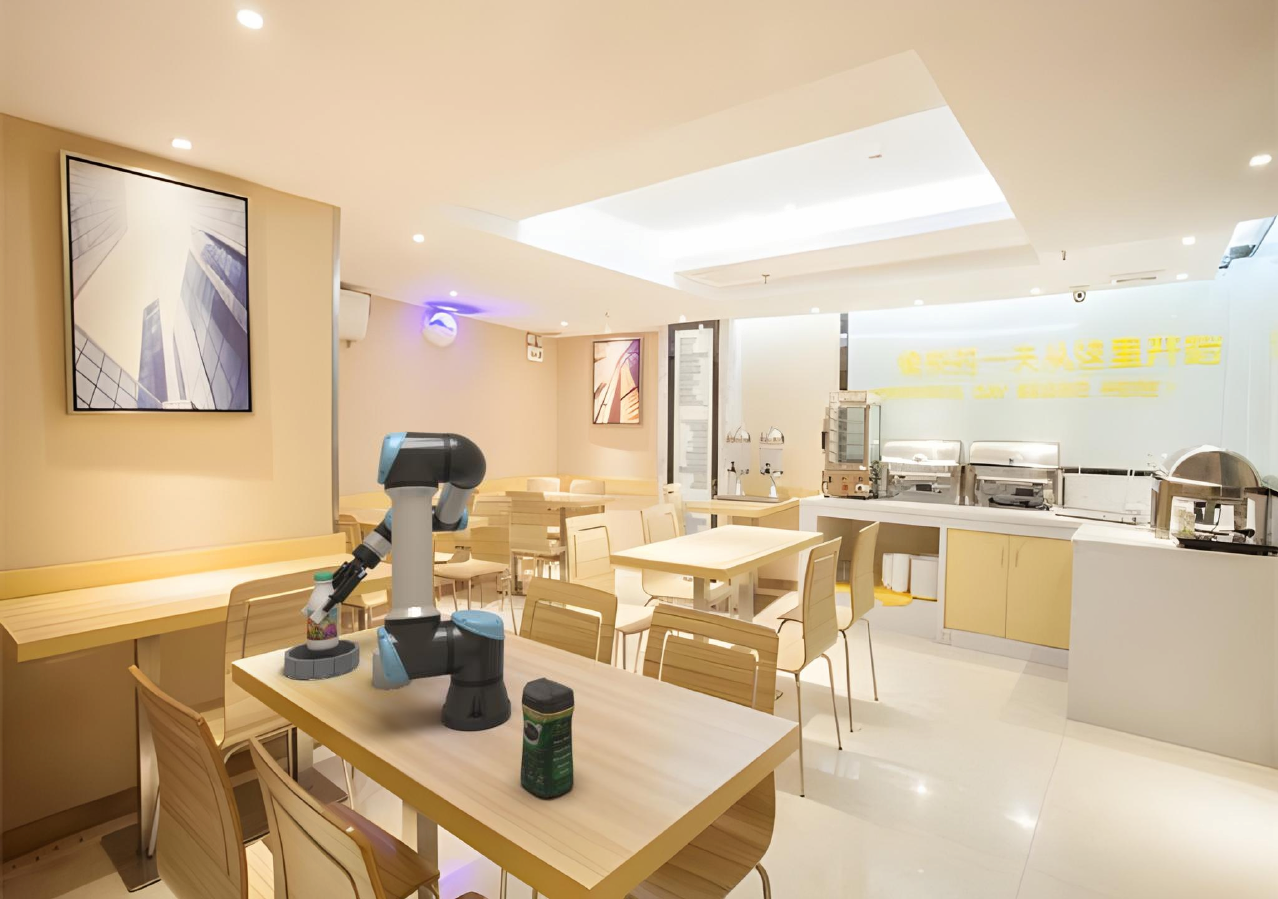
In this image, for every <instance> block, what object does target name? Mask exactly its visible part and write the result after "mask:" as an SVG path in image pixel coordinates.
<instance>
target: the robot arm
mask: <svg viewBox="0 0 1278 899" xmlns="http://www.w3.org/2000/svg"><path fill="white" fill-rule="evenodd" d="M379 457H380V458H379V462H378V463H379V464H378V470H377V471H378V472H377V478H376V480H377V481H376V482H377V484H379V485H383V487H384V488H383V492H384V494H386V496H388V497H389V499H391V507H390V508H389V509H388V510H387V511H386V513H385V514H384V518H383V519H382V521H380V522H379V524H378V525H377V526H376V527H375V528H374V529H373V530H372V531H370V532H369V534H368V535H366V536H365V538H364V539H363V540H362V543H360V544H358V546H356V548H355V549H354V550H353V551H352V552H351V555H352V556H353V557H354V559H352V560H351V561H350V562H348V561H346V560H345V561H344V562H343V563H342V564H341V566H339V568H337V570H336V571H334V573H333V581H332V586H333V589H334V591H335V592H334V593H333V595H329V596H328V597H329V598H327V599H326V600H325V601H324V603H323V604H322V605H321V606H320V607H319V608H318V609H317V610H316V611H315V612H314V613H313V614H312V615H311V616H310V617H309V618H311V619H312V620H313V621H315V622H316V623H317V624H319V622H320V621H321V620H322V619H323V618H324V617H325V616H326V615H327V614H328V613H329V612H330V611H331V610H332V609H333V607H334V606H335V605H336V603H337V604H338V603H339V604H343V603H344V602H345V601H346V599H347V598H348V597H349V596H350V595H351V594H352V592H353V591H354V590H355V589H356V588H357V586H358V585H359V584H360V583H361V582H362V580H364V579H365V578H366V577H367V576H368V573H367V571H366V570H367V568H368V569H370V570H374V569H375V568H376V567H377V566H378V565H379V564H380V563H381V561H382V558H383V559H384V558H385V557H386V555H388V554H391V610H390V611H389V612H388V613H387V614H386V615H385V617H384V621H383V622H384V625H380V626H379V627H377V629H376V635H377V644H378V647H379V653H380V659H381V665H382V671H383V675H384V677H385V679H386V680H388V681H390V682H397V681H407V682H408V681H409V680H412V681H413V680H421V679H428V678H435V677H441V676H449V675H450V682H449V688H448V690H447V694H446V697H445V702H444V703H443V705H442V708H441V722H442V723H443V724H444V725H445V726H446V727H448V728H450V729H454V730H459V731H478V730H486V729H491V728H493V727H495V726H496V727H497V726H498V725H501V724H503V723H505V722H506V721H507V720H508V719H510V716H511V714H512V703H511V700H510V698H509V695H508V691H507V687H506V683H505V681H504V668H505V666H504V665H505V664H504V663H505V661H504V660H505V658H504V655H505V654H504V653H505V639H506V636H505V626H504V620H503V618H501V616H500V615H498V614H496V613H493V612H490V611H484V610H479V609H478V610H477V609H461V610H456V611H454V612H452V613H451V615H450V619H449V620H441V611H440V610H438V609H437V608H436V606H435V605H434V570H433V568H434V566H433V565H434V564H433V560H434V559H433V557H434V556H433V553H434V552H433V533H444V532H445V533H447V532H450V533H451V532H453V533H455V532H460V531H465V530H466V529H467V528H468V522H469V512H468V511H469V510H468V507H467V506H468V503H469V501H470V499H471V497H472V494H473V492H474V490H475V488H478V487H479V485H481V484H482V482H483V481H484V478H485V476H486V472H487V461H486V458H485V455H484V453H483V451H482V449H480V447H479V446H478V444H476V443H475V442H474V441H472V440H471V439H470V438H468V437H466V436H463V435H461V434H458V433H455V432H454V433H453V432H452V433H451V432H450V433H449V432H447V433H445V432H443V433H442V432H423V431H422V432H419V431H403V432H402V431H401V432H399V431H398V432H389V433H388V434H385V436H384V438H383V441H382V446H381V450H380V456H379ZM439 484H443V486H442V487H441V488H442V489H441V491H440V494H439V497H438V498H437V500H438V501H437V502H436V504H435V505H433V503H432V500H433V497H435V495H436V494H438V492H439V486H440V485H439ZM307 611H308V603H306V605H305V606H304V607H303V608H302V609H301V610H300V612H302V613H303V614H304V615H305V616H307Z"/></svg>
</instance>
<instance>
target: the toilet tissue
mask: <svg viewBox="0 0 1278 899" xmlns="http://www.w3.org/2000/svg"><path fill="white" fill-rule="evenodd" d="M371 676H372V682H371V683H372V684H371V686H373V687H374V688H375V690H381V689H383V691H391V690H390V689H392V690H399V689H402V688H405V687H407V686H409V685H410V684H411V683H412V681H413V680H409V681H408V682H407V681H397V682H390V681H388V680H386V679H385V677H384V675H383V671H382V665H381V659H380V653H379V646H378V647H376V648H375V649H374V650H372V675H371ZM404 686H405V687H404Z"/></svg>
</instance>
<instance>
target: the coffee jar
mask: <svg viewBox="0 0 1278 899" xmlns="http://www.w3.org/2000/svg"><path fill="white" fill-rule="evenodd" d="M521 696H522V697H521V710H522V716H523V717H522V720H523V728H522V729H523V731H522V732H523V735H522V749H521V750H522V751H521V752H522V753H521V763H520V764H521V765H520V782H521V785H522V786H524V788H526V789H527V790H528V791H529V792H531V793H533V794H535V795H536V796H539V797H542V798H550V797H559V796H560V795H563V794H564V793H566V792H567V791H569V790H570V789H571V788H572V787H573V785H574V756H573V731H572V730H573V728H572V726H573V725H572V724H573V715H574V711H575V706H576V705H575V693H574V689H573V688H571V687H569V686H566V685H564V684H561V683H559V682H557V681H554V680H550V679H547V678H546V677H541V678H537V679H533V680H531V681H527V682H526V684H525V685H524V687H523V689H522V695H521Z"/></svg>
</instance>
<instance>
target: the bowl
mask: <svg viewBox="0 0 1278 899" xmlns="http://www.w3.org/2000/svg"><path fill="white" fill-rule="evenodd" d="M359 663H360V645H359V642H356V641H353V640H349V639H339V643H338V645H337V646H336V647H334V648H331V649H327V650H310V649H308V647H307V642H305V643H301V644H297V645H294V646H293V647H291V648H289V649H287V650H285V651H284V663H283V664H284V666H283V667H284V669H283V670H284V672H285V674H286V675H287V676H289V677H291V678H295V679H321V680H323V679H322V678H327V679H331V678H330V677H333V678H335V677H334V676H337V677H340V676H342V675H341V674H344V675H346V674H348V672H349V673H351V672H353V671H354V670H356V669H357V668H358V667H357V666H359V665H360V664H359ZM358 664H359V665H358ZM355 668H356V669H355ZM353 669H354V670H353ZM352 670H353V671H352ZM350 671H351V672H350ZM345 673H346V674H345ZM285 674H284V675H285ZM339 675H340V676H339ZM291 678H290V679H291ZM295 679H294V680H295Z"/></svg>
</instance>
